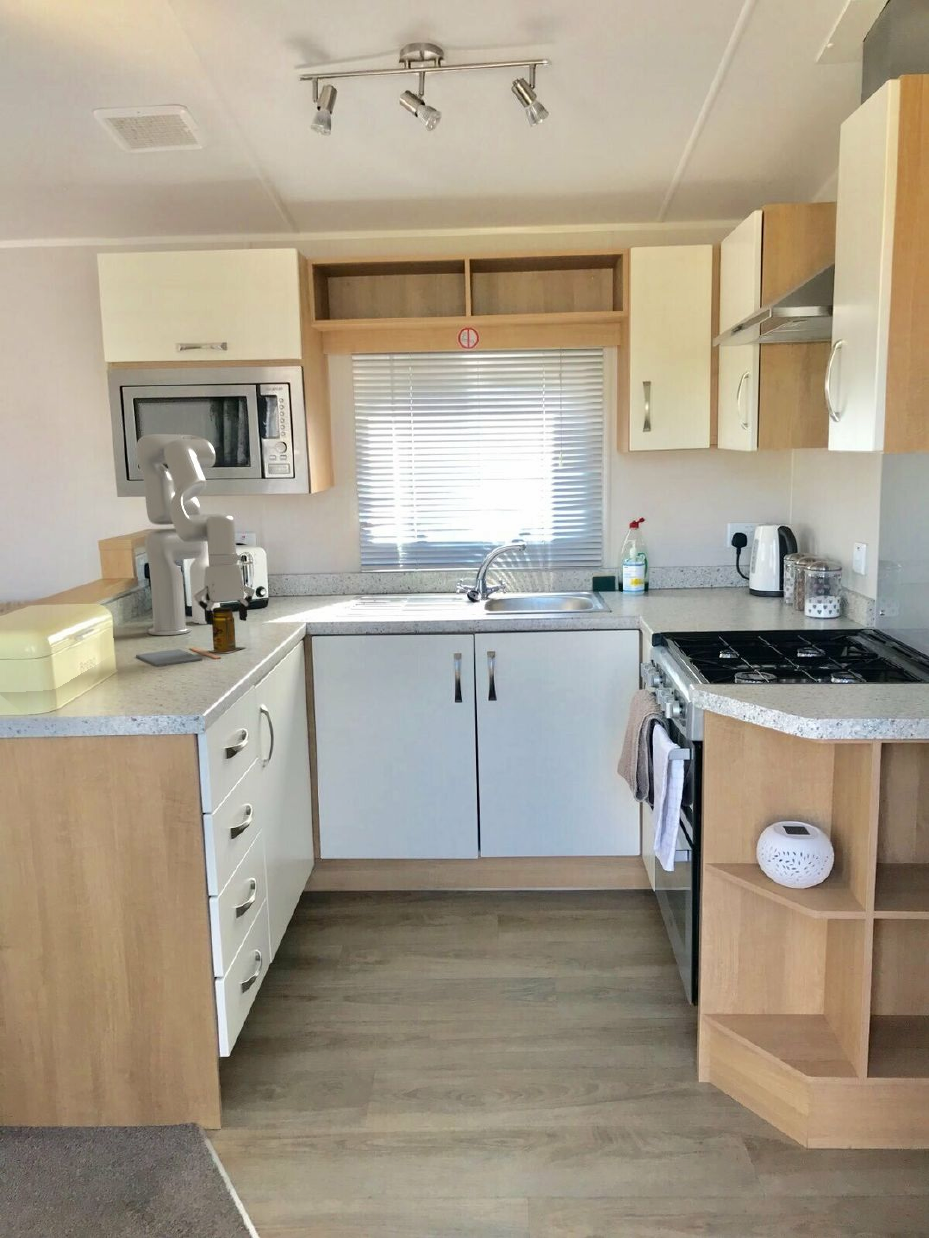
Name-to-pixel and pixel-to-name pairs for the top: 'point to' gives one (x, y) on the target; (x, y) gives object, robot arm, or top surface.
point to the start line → (205, 653)
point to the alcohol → (199, 585)
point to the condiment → (224, 630)
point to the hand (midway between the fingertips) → (226, 622)
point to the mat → (168, 657)
